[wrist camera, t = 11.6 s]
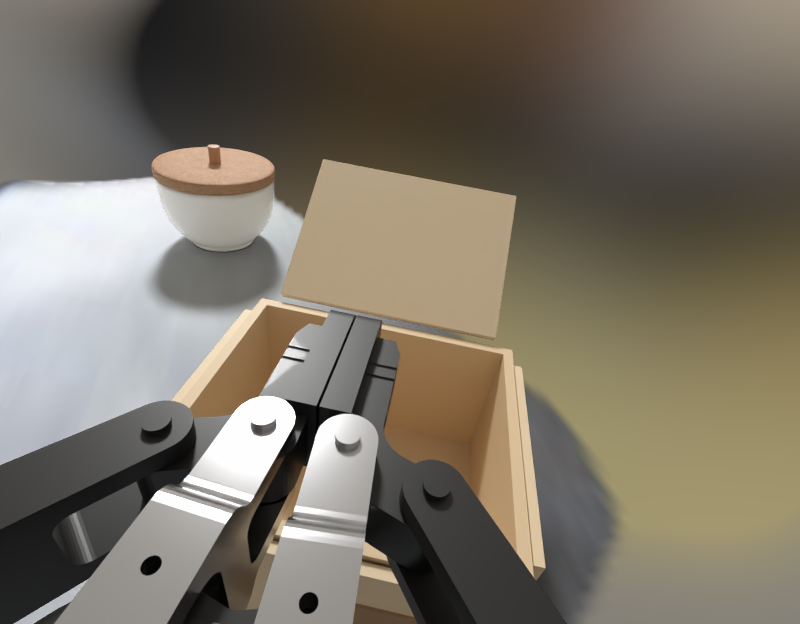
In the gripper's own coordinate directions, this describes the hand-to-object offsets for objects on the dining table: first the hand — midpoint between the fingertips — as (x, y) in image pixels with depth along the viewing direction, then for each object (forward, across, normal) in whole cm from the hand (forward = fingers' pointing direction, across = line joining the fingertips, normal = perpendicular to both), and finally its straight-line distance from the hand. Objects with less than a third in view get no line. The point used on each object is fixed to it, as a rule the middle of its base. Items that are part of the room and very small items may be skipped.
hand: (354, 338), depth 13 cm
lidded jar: (+28, +20, +14) cm, 37 cm away
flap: (+9, 0, +6) cm, 11 cm away
